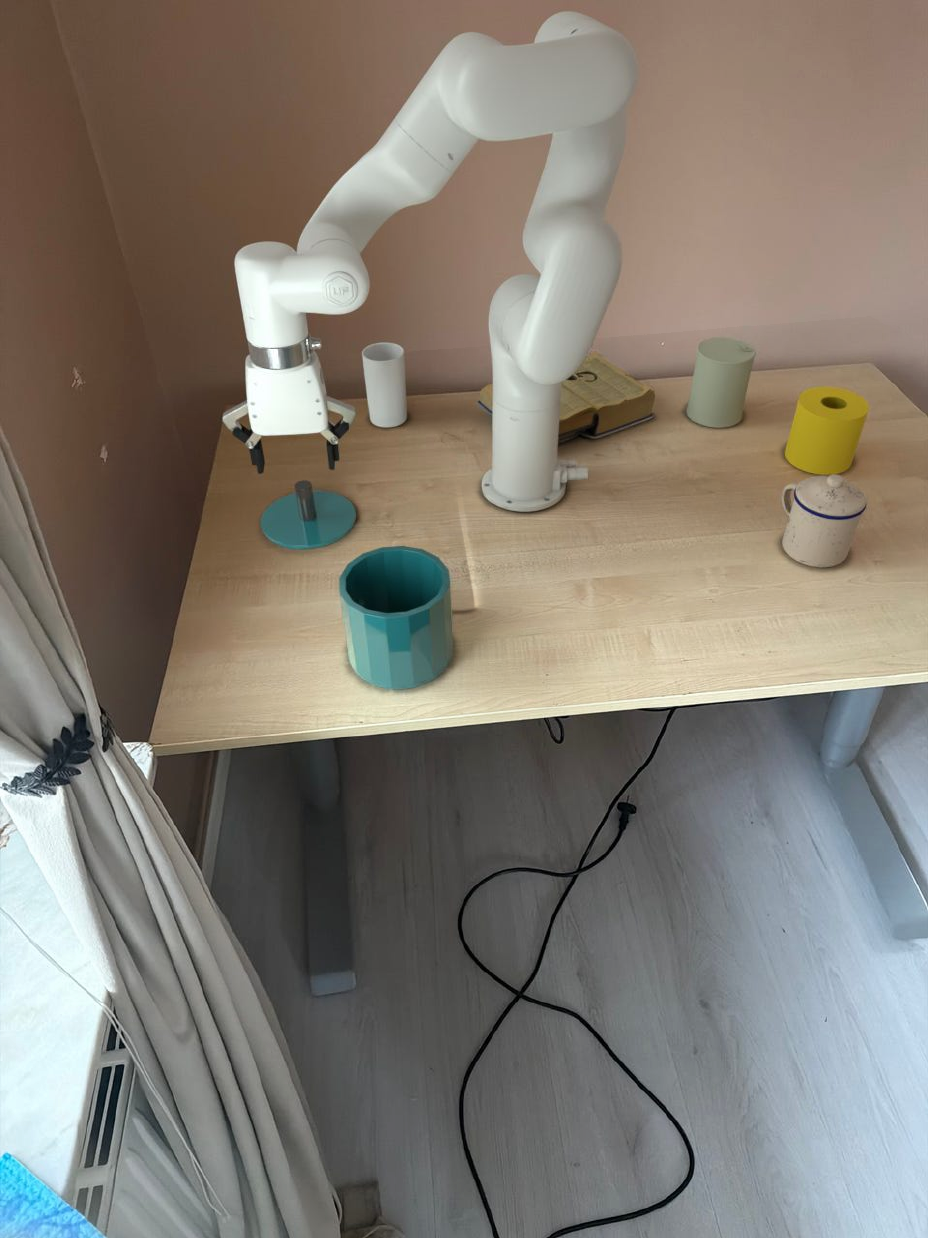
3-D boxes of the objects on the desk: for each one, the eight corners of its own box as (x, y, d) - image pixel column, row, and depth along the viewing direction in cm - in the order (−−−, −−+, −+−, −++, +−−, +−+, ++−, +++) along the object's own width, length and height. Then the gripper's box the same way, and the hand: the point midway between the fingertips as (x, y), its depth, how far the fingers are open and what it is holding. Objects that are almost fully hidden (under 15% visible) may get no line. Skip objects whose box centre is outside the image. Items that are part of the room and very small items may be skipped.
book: (595, 378, 160) (598, 347, 156) (654, 418, 150) (659, 386, 146) (476, 416, 151) (475, 384, 147) (530, 462, 141) (531, 428, 137)
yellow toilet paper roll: (814, 480, 135) (830, 425, 129) (771, 449, 142) (784, 395, 136) (865, 465, 138) (883, 410, 132) (821, 434, 145) (836, 381, 139)
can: (747, 427, 147) (762, 359, 139) (691, 428, 147) (703, 360, 139) (735, 399, 154) (749, 333, 146) (682, 400, 154) (692, 334, 146)
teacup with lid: (863, 557, 122) (889, 485, 114) (812, 577, 119) (835, 505, 111) (800, 511, 130) (820, 441, 122) (751, 530, 127) (769, 459, 119)
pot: (447, 613, 115) (445, 542, 107) (456, 685, 106) (454, 612, 98) (349, 621, 114) (339, 550, 106) (349, 693, 105) (338, 621, 97)
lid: (356, 493, 135) (351, 455, 131) (356, 548, 125) (352, 509, 121) (265, 499, 134) (257, 461, 130) (258, 556, 124) (250, 516, 120)
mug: (413, 423, 150) (409, 356, 142) (375, 432, 148) (368, 364, 140) (395, 396, 157) (390, 331, 149) (358, 404, 155) (351, 338, 147)
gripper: (349, 333, 115) (359, 448, 126) (212, 338, 114) (235, 455, 125) (349, 359, 109) (360, 478, 121) (205, 366, 108) (230, 485, 120)
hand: (297, 466), depth 123 cm, fingers open, 9 cm apart
